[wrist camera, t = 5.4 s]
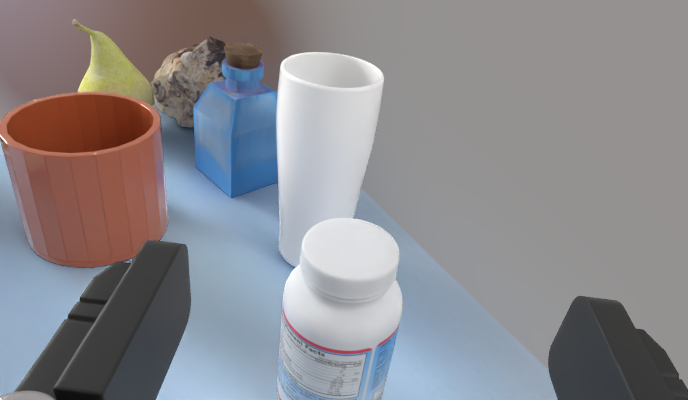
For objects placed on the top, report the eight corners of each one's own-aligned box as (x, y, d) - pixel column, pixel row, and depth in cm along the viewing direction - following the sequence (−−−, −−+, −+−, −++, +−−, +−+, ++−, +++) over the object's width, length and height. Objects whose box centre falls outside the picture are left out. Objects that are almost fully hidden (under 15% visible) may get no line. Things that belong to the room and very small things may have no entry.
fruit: (167, 124, 56) (158, 8, 49) (126, 155, 49) (110, 27, 43) (110, 111, 57) (95, -4, 50) (63, 140, 50) (38, 13, 44)
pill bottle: (340, 340, 34) (365, 197, 28) (400, 412, 30) (443, 264, 24) (256, 378, 31) (263, 226, 25) (310, 464, 27) (334, 309, 21)
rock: (274, 123, 55) (187, 90, 48) (214, 160, 62) (132, 136, 55) (272, 50, 58) (191, 10, 51) (216, 94, 65) (138, 64, 59)
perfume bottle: (287, 178, 50) (296, 56, 43) (231, 197, 46) (231, 66, 39) (250, 151, 53) (253, 34, 47) (195, 167, 50) (190, 41, 43)
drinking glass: (293, 292, 37) (311, 95, 29) (254, 237, 42) (261, 54, 33) (370, 266, 40) (407, 83, 32) (327, 219, 45) (349, 48, 37)
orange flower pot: (33, 282, 35) (0, 167, 30) (23, 202, 42) (-4, 98, 37) (183, 248, 40) (176, 144, 35) (152, 181, 47) (142, 86, 42)
